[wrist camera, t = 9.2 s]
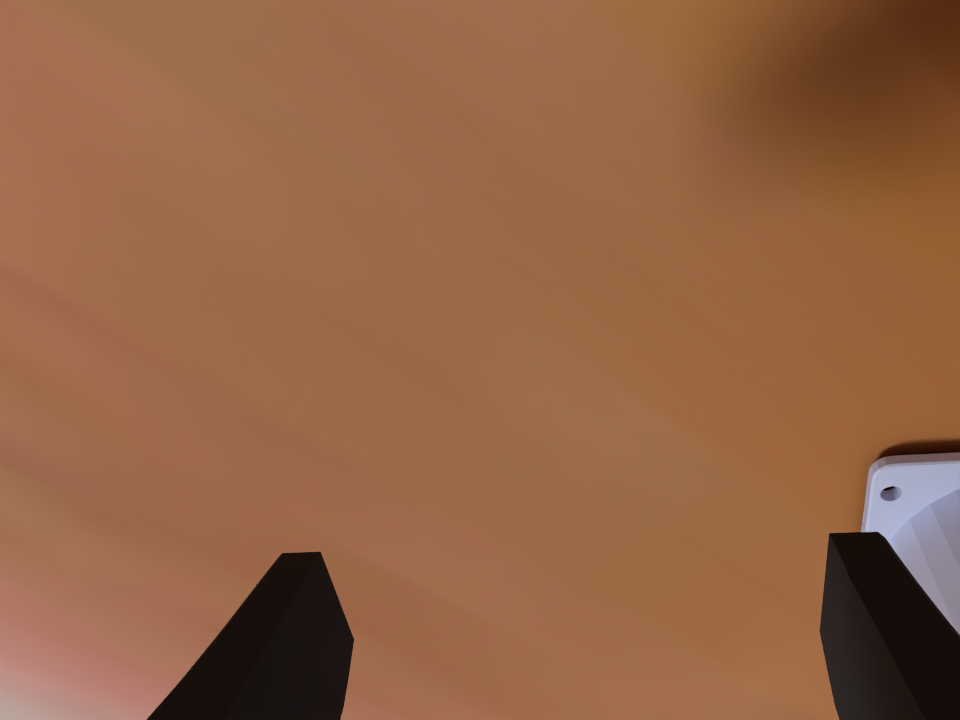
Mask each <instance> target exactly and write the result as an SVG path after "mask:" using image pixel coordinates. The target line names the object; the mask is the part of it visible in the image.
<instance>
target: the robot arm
mask: <svg viewBox="0 0 960 720" xmlns="http://www.w3.org/2000/svg"><path fill="white" fill-rule="evenodd" d="M891 486H894V488H893V489H891V490H887V491H884V490H883V489H885V488H887V487H891ZM820 635H821V640H822V645H823V650H824V655H825V660H826V665H827V670H828V675H829V679H830V684H831V689H832V693H833V698H834V703H835V707H836V710H837V713H838V716H839V719H840V720H960V452H957V453H937V454H917V455H898V456H888V457H883V458H881V459H879V460H877V461H875V462H874V463H873V464H872V465H871V467H870V469H869V473H868V481H867V489H866V497H865V505H864V513H863V521H862V529H861V532H855V533H829V542H828V552H827V563H826V573H825V583H824V594H823V604H822V614H821V625H820ZM353 642H354V638H353V636H352V633H351V631H350V628H349V625H348V623H347V620H346V617H345V615H344V612H343V610H342V607H341V604H340V602H339V599H338V596H337V594H336V591H335V589H334V586H333V583H332V581H331V578H330V575H329V573H328V570H327V568H326V565H325V562H324V560H323V557H322V555H321V552H304V553H282V554H281V555H280V556H279V558H278V559H277V560H276V561H275V562H274V564H273V565H272V566H271V568H270V569H269V570H268V571H267V573H266V574H265V575H264V576H263V578H262V579H261V580H260V582H259V583H258V584H257V585H256V587H255V588H254V589H253V591H252V592H251V593H250V595H249V596H248V597H247V598H246V600H245V601H244V602H243V604H242V605H241V606H240V607H239V609H238V610H237V611H236V613H235V614H234V615H233V616H232V618H231V619H230V620H229V622H228V623H227V624H226V625H225V627H224V628H223V629H222V630H221V632H220V633H219V634H218V636H217V637H216V638H215V639H214V640H213V642H212V643H211V644H210V645H209V647H208V648H207V649H206V650H205V651H204V653H203V654H202V655H201V656H200V658H199V659H198V660H197V661H196V663H195V664H194V665H193V666H192V667H191V669H190V670H189V671H188V672H187V674H186V675H185V676H184V677H183V678H182V680H181V681H180V682H179V683H178V684H177V686H176V687H175V688H174V689H173V690H172V691H171V692H170V694H169V695H168V696H167V697H166V698H165V699H164V700H163V702H162V703H161V704H160V705H159V706H158V707H157V708H156V709H155V711H154V712H153V713H152V714H151V715H150V716H149V717H148V719H147V720H340V718H341V714H342V710H343V707H344V701H345V695H346V689H347V683H348V677H349V670H350V663H351V656H352V649H353Z"/></svg>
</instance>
